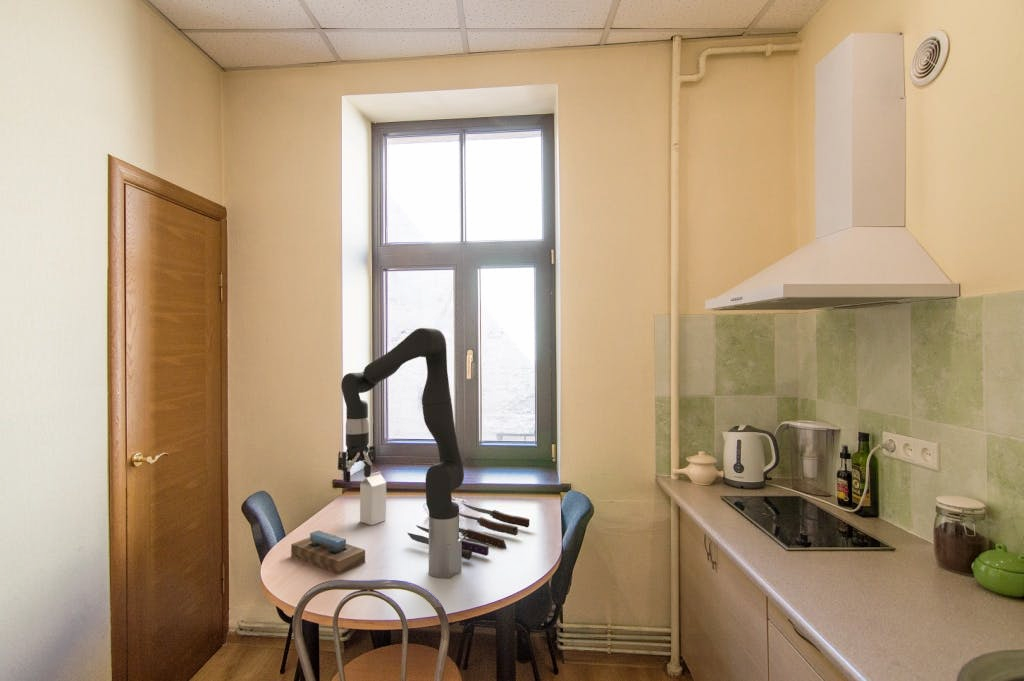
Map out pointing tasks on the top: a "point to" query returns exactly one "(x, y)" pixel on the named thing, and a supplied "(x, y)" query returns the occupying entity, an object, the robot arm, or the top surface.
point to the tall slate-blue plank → (328, 541)
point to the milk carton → (373, 499)
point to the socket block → (328, 556)
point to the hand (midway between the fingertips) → (357, 479)
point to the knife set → (479, 536)
